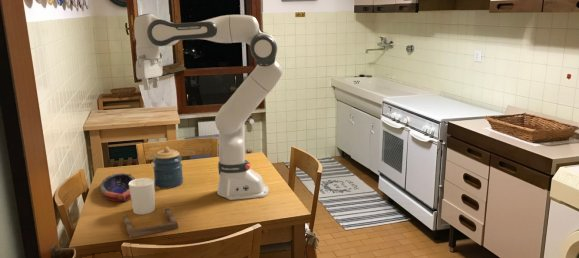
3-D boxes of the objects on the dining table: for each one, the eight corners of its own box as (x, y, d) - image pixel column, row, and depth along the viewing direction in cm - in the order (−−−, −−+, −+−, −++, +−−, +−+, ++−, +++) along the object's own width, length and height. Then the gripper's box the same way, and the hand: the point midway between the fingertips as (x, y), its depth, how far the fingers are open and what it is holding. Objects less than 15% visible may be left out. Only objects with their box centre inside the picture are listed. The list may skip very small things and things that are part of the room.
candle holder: (125, 213, 184) (122, 184, 182) (142, 204, 193) (139, 176, 190) (146, 216, 181) (143, 187, 178) (161, 207, 190) (159, 179, 187)
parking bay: (124, 221, 177) (123, 216, 177) (169, 212, 184) (168, 207, 184) (129, 238, 164) (129, 232, 163) (178, 228, 171) (177, 223, 170)
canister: (149, 187, 211) (146, 150, 207) (162, 178, 224) (159, 142, 220) (176, 189, 209) (174, 151, 205) (187, 179, 222) (185, 143, 217)
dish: (136, 179, 223) (135, 169, 222) (139, 203, 195) (138, 191, 194) (101, 183, 218) (100, 173, 217) (99, 208, 190) (98, 197, 189)
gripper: (145, 55, 180) (149, 90, 182) (163, 54, 200) (167, 86, 202) (130, 55, 180) (133, 91, 183) (149, 55, 200) (152, 87, 203)
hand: (151, 88), depth 193 cm, fingers open, 8 cm apart
